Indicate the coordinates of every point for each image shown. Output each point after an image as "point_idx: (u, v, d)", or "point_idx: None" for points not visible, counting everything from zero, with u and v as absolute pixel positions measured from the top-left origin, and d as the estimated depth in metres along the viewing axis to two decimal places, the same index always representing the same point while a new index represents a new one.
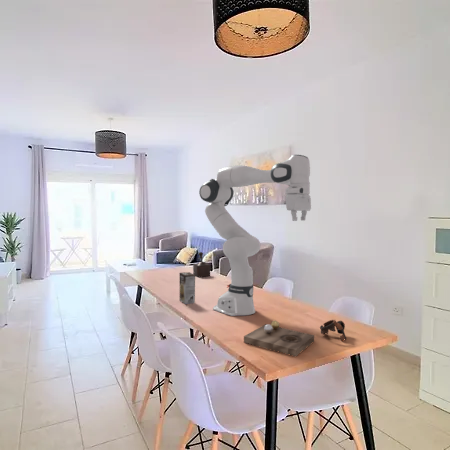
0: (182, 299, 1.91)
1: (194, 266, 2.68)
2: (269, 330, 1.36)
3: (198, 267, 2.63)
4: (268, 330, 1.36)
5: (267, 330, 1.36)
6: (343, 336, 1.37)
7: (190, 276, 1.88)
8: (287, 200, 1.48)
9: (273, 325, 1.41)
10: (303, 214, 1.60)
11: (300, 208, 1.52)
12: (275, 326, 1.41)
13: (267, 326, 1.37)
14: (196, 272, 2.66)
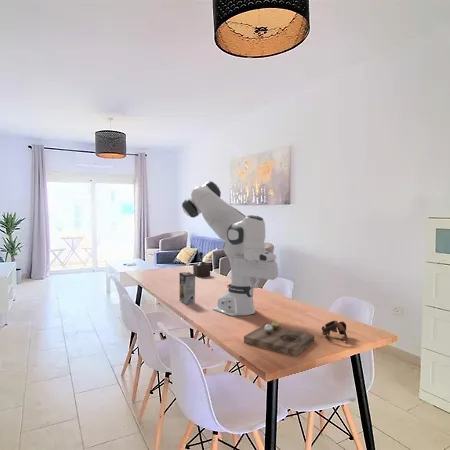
0: (182, 299, 1.91)
1: (194, 266, 2.68)
2: (269, 330, 1.36)
3: (198, 267, 2.63)
4: (268, 330, 1.36)
5: (267, 330, 1.36)
6: (345, 337, 1.36)
7: (190, 276, 1.88)
8: (274, 269, 1.34)
9: (273, 325, 1.41)
10: (251, 280, 1.42)
11: None
12: (275, 326, 1.41)
13: (267, 326, 1.37)
14: (196, 272, 2.66)
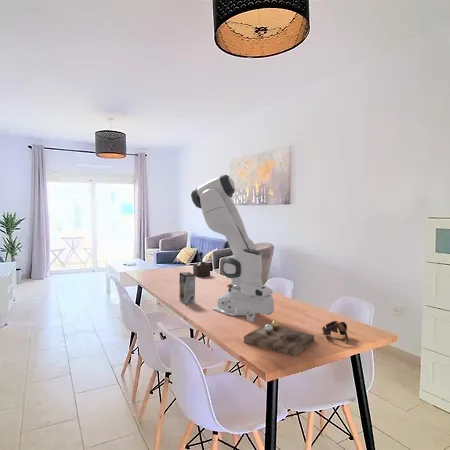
0: (182, 299, 1.91)
1: (194, 266, 2.68)
2: (269, 330, 1.36)
3: (198, 267, 2.63)
4: (268, 330, 1.36)
5: (267, 330, 1.36)
6: (346, 337, 1.35)
7: (190, 276, 1.88)
8: (269, 304, 1.34)
9: (273, 325, 1.41)
10: (247, 313, 1.42)
11: None
12: (275, 326, 1.41)
13: (267, 326, 1.37)
14: (196, 272, 2.66)
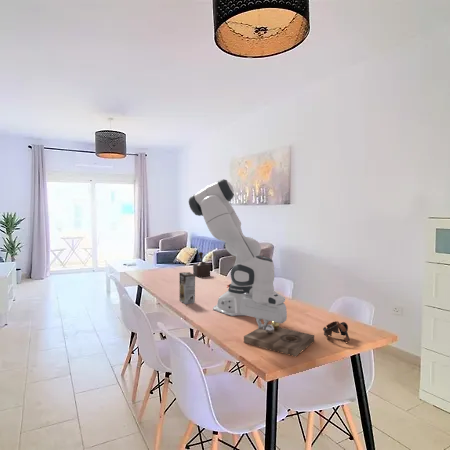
0: (182, 299, 1.91)
1: (194, 266, 2.68)
2: (270, 332, 1.36)
3: (198, 267, 2.63)
4: (269, 331, 1.36)
5: (268, 331, 1.36)
6: (347, 338, 1.35)
7: (190, 276, 1.88)
8: (283, 313, 1.32)
9: (273, 325, 1.41)
10: (259, 321, 1.39)
11: None
12: (275, 326, 1.41)
13: (269, 327, 1.36)
14: (196, 272, 2.66)
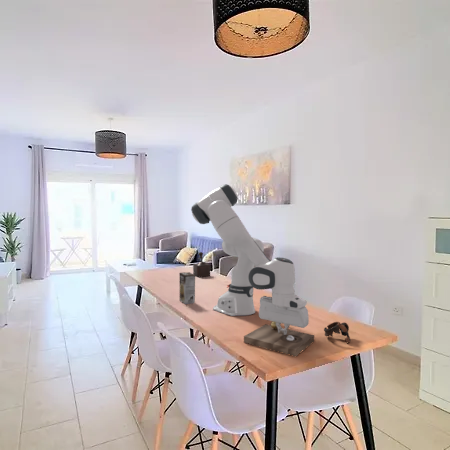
0: (182, 299, 1.91)
1: (194, 266, 2.68)
2: (292, 340, 1.31)
3: (198, 267, 2.63)
4: (290, 340, 1.31)
5: (289, 340, 1.31)
6: (348, 338, 1.34)
7: (190, 276, 1.88)
8: (305, 317, 1.27)
9: (273, 325, 1.41)
10: (279, 326, 1.34)
11: None
12: (275, 326, 1.41)
13: (288, 336, 1.32)
14: (196, 272, 2.66)
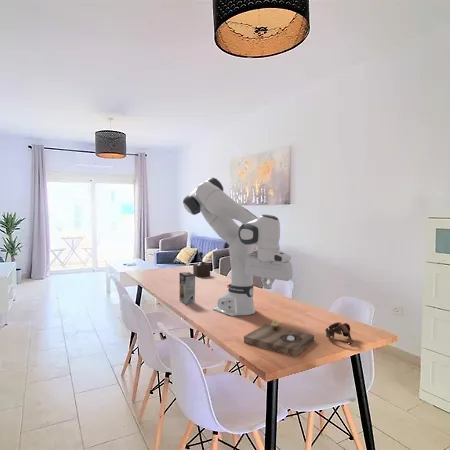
0: (182, 299, 1.91)
1: (194, 266, 2.68)
2: None
3: (198, 267, 2.63)
4: None
5: None
6: (349, 339, 1.34)
7: (190, 276, 1.88)
8: (289, 270, 1.31)
9: (273, 325, 1.41)
10: (264, 281, 1.38)
11: None
12: (275, 326, 1.41)
13: (289, 337, 1.32)
14: (196, 272, 2.66)
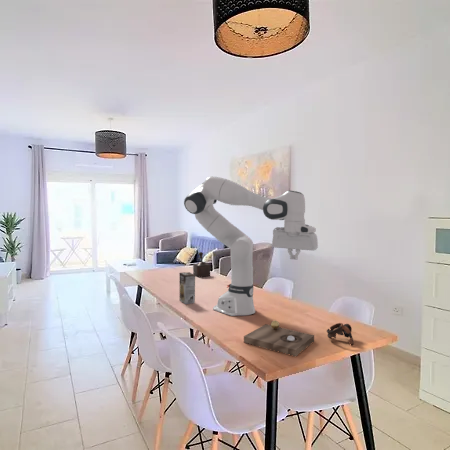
0: (182, 299, 1.91)
1: (194, 266, 2.68)
2: None
3: (198, 267, 2.63)
4: None
5: None
6: (351, 340, 1.33)
7: (190, 276, 1.88)
8: (314, 240, 1.42)
9: (273, 325, 1.41)
10: (290, 252, 1.49)
11: None
12: (275, 326, 1.41)
13: (289, 337, 1.31)
14: (196, 272, 2.66)
